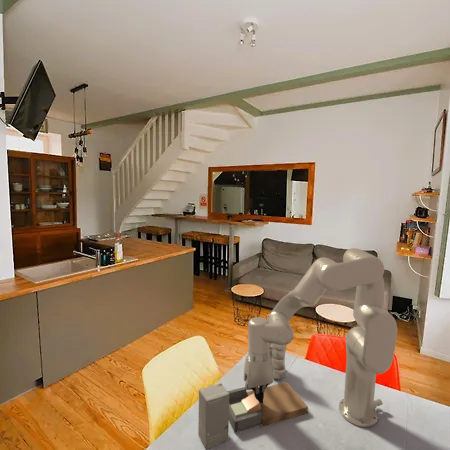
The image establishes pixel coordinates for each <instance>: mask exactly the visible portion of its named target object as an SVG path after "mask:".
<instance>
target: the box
mask: <svg viewBox="0 0 450 450" xmlns="http://www.w3.org/2000/svg"><path fill="white" fill-rule="evenodd" d="M227 392H228V393H229V424H230V426H231V428H232V430H233V432H234V433H238V432H242V431H246V430H248V429H251V428H255V427H258V426H262V413H261V411H260V412H255V413H253V414H249V415H246V416H242V417H239V418H237V417H236V415H235V414H234V412H233V410H232V408H231V406H230V405H232V404H236V403H240V402H242V401H241V400H243V399H245V398H246V392H247V390H246V388H245V386H243V387H240V388H235V389H231V390H227Z"/></svg>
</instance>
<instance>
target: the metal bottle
mask: <svg viewBox="0 0 450 450" xmlns="http://www.w3.org/2000/svg"><path fill="white" fill-rule="evenodd" d="M271 347H272V348H273V351H272V363H273V372H274V378H273V380H274V379H275V380H276V381H277V380H279V381H281V380H284V378H285V377H286V373H287V371H286V362H285V359H286V358H285V357H286V351H287V345H277V344H273V343H271Z"/></svg>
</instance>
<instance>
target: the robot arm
mask: <svg viewBox="0 0 450 450" xmlns="http://www.w3.org/2000/svg"><path fill="white" fill-rule="evenodd" d="M384 273H385V265H384V263H383V262H382V260H381V259H380V258H378V257H377V256H375V255H373V254H371V253H370V252H367V251H365V250H363V249H360V248H349V249H347V250H346V251H345V252H344V254H343V256H342V262H336V261H334V260H333V259H331V258H328V257H324V256H323V257H318V258H317V259H316V260H315V261H314V262H313V263H312V264H311V266H310V267H309V268H308V270H307V271H306V272H305V274H304V275H303V277H302V278H301V279H300V280H299V282H298V283H297V284H296V286H295V287H294V289H293V290H291V291H290V292H288V293H287V294H286V295H284V296H283V297H282V298H281V299H280V300H279V301H278V302H277V304H276V305H275V306H274V308H273V309H272V310H271V312H270V313H269V314H270V315H269V317H267V318H264V317H259V316H258V317H257V316H255V317H252V318H250V320H249V321H248V323H247V338H248V340H247V342H248V343H247V348H248V349H247V351H248V353H247V355H246V356H245V360H244V367H243V380H244V381H243V382H245V383H244V387H245V388H246V391H254V393H255V397H256V399H257V400H258V401H259V403H263V399H264V392H265V389H266V387H269V386H271V385H272V384H274V372H273V363H272V358H271V355H270V352H271V351H273V348H272V347H270V343H273V344H277V345H286V346H287V345H289V344H291V343H292V341H293V340H294V336H295V335H294V330H293V328H292V326H291V324H290V321H291V319H292V318H293V316H294V315H295V314H296V313H297V312H298V310H300V309H302V308H305V307H315V306H316V305H317V303H318V302H319V300H320V299H321V298H322V296H323V295H324V294H325V293H326V291H327V290H329V291H342V290H343V291H344V290H347V289H352V288H353V289H354V288H356V289H355V296H354V297H355V299H354V306H353V310H352V311H353V314H352V315H353V319H354V320H355V322H356V323H357V324H358V326H354V327H351V328H350V329H349V330H348V332H347V334H346V336H345V350H346V351H345V352H346V365H345V379H344V380H345V382H344V395H343V399H341V400H340V401H339V403H338V410H339V413H340V414H341V416H342V418H344V419H345V420H346V421H348V422H350V423H351V424H353V425H355V426H358V427H361V428H370V427H373V426H375V425H376V424H377V422H378V413H377V411H376V408H377V407H380V406H383V400H382V399H380V398H378V399H375V389H376V380H377V379H376V377H377V375H381V374H384V373H385V372H387V371H389V369H390V368H391V367H392V364H393V360H394V357H395V350H396V344H397V337H398V325H397V322H396V319H395V317H394V316H393V315H392V314H391V313H390V312H389V311H388V310H386V309H385V307H384V299H385V279H384V277H383V276H384Z"/></svg>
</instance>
